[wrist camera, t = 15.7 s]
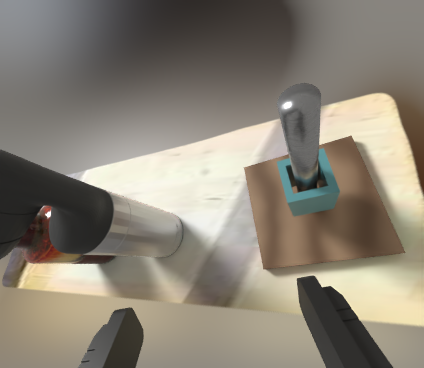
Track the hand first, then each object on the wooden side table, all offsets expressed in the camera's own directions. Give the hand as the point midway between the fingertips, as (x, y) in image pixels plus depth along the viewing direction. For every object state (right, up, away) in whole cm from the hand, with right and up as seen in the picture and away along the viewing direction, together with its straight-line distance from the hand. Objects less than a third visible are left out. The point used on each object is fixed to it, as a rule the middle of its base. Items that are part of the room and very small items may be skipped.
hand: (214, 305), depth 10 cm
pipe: (+15, +3, +23) cm, 27 cm away
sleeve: (+14, +4, +20) cm, 24 cm away
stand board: (+16, +3, +24) cm, 29 cm away
